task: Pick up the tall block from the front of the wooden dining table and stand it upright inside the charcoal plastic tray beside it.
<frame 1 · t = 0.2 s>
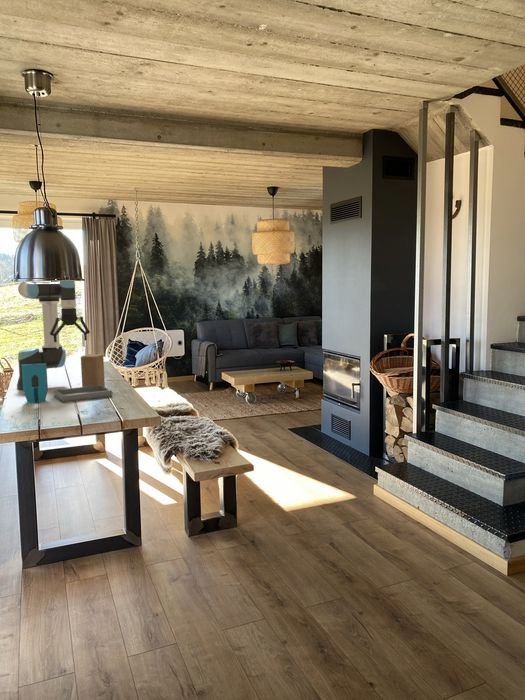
hand: (70, 347, 300), 28 cm above the table, tool pointing down, fingers open, 13 cm apart
wooden block: (93, 388, 331), on the table
block: (36, 401, 296), on the table
tray: (82, 396, 308), on the table
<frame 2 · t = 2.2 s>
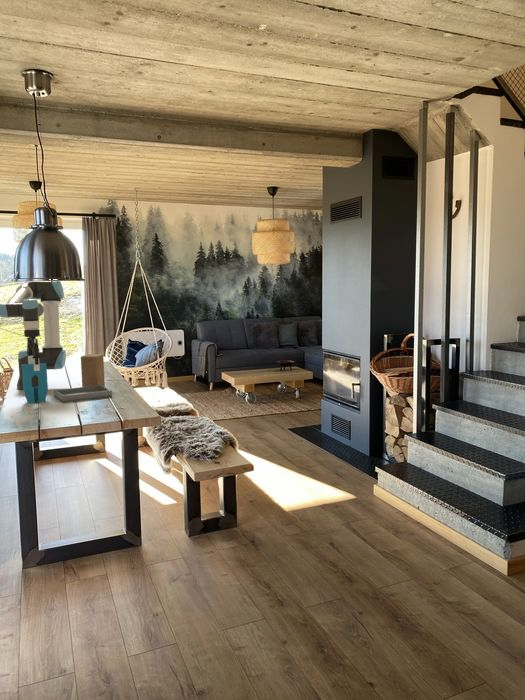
hand: (34, 369, 294), 17 cm above the table, tool pointing down, fingers open, 13 cm apart
nothing on the table moved.
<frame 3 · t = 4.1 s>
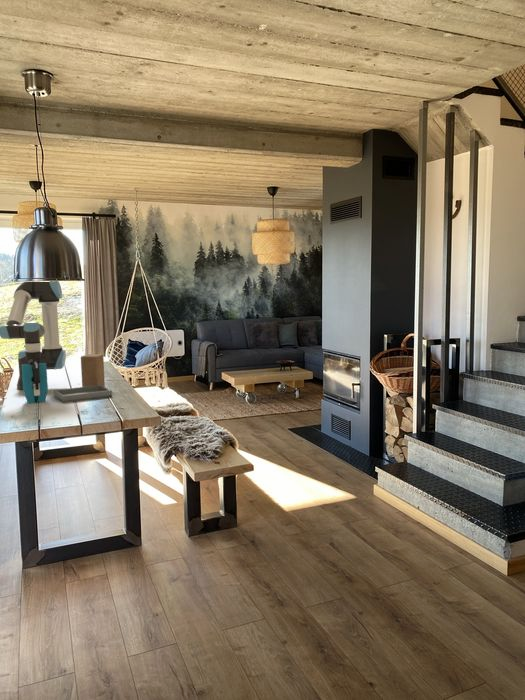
hand: (35, 394, 296), 4 cm above the table, tool pointing down, fingers closed on block, 5 cm apart
block: (36, 401, 296), on the table, touching gripper
everything else where it was.
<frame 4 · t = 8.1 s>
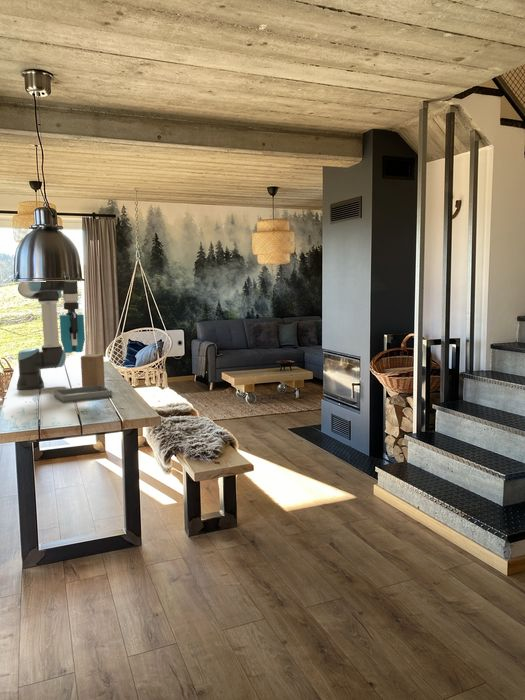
hand: (73, 344, 302), 29 cm above the table, tool pointing down, fingers closed on block, 5 cm apart
block: (73, 352, 303), point 25 cm above the table, touching gripper
everything else where it was.
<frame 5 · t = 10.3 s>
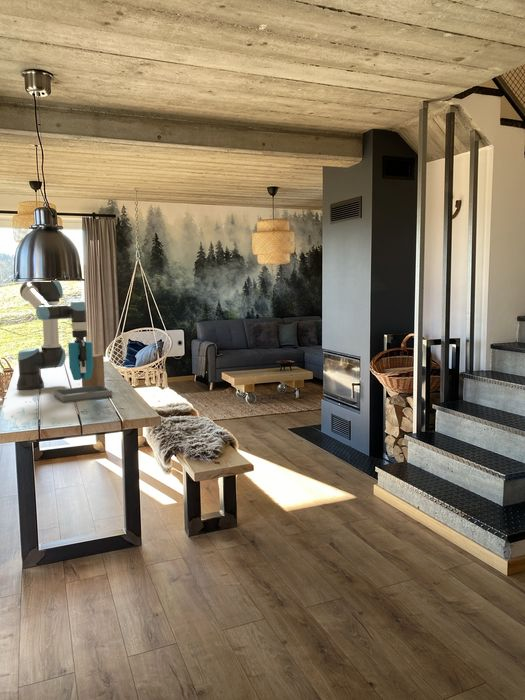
hand: (81, 371, 306), 14 cm above the table, tool pointing down, fingers closed on block, 5 cm apart
block: (82, 379, 307), point 10 cm above the table, touching gripper
everything else where it was.
when the fingers open (6 cm above the table, at t = 12.1 s): block drops 1 cm, resting on tray.
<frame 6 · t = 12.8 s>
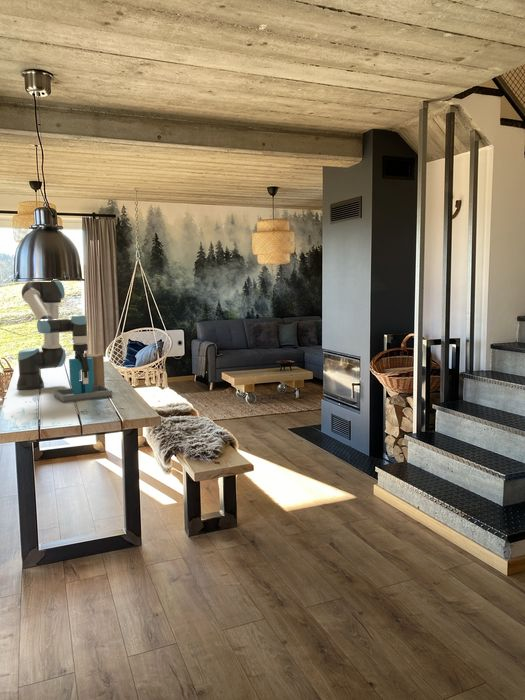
hand: (82, 381, 307), 8 cm above the table, tool pointing down, fingers open, 13 cm apart
block: (82, 395, 308), point 1 cm above the table, touching tray
everything else where it was.
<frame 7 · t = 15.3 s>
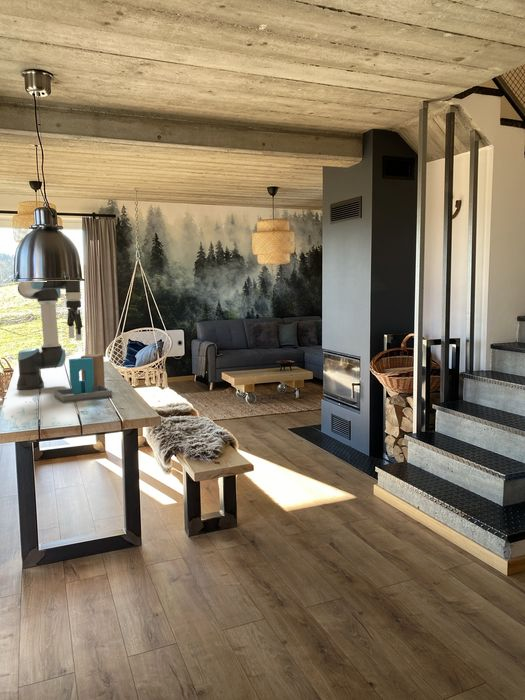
hand: (75, 339, 305), 32 cm above the table, tool pointing down, fingers open, 13 cm apart
nothing on the table moved.
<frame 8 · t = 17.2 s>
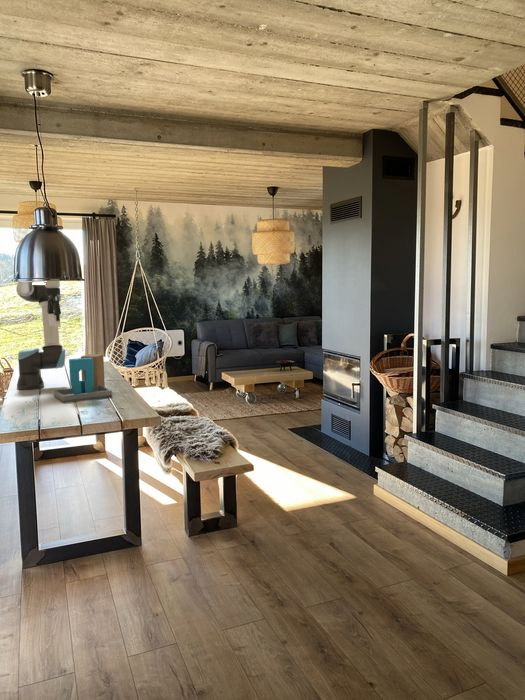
hand: (54, 326, 308), 39 cm above the table, tool pointing down, fingers open, 13 cm apart
nothing on the table moved.
at the end: block inside the target area on the tray (0.1 cm from its centre), point 0.8 cm above the tray's base; block tilted 0°; the gripper is holding nothing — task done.
